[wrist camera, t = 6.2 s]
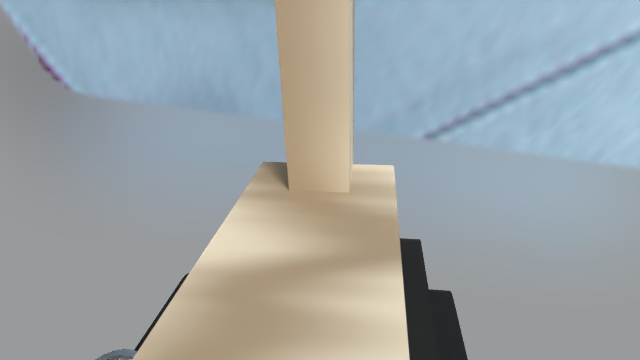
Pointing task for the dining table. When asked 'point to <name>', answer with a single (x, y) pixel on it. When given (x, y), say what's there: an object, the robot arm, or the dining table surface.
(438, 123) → the dining table surface
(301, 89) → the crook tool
